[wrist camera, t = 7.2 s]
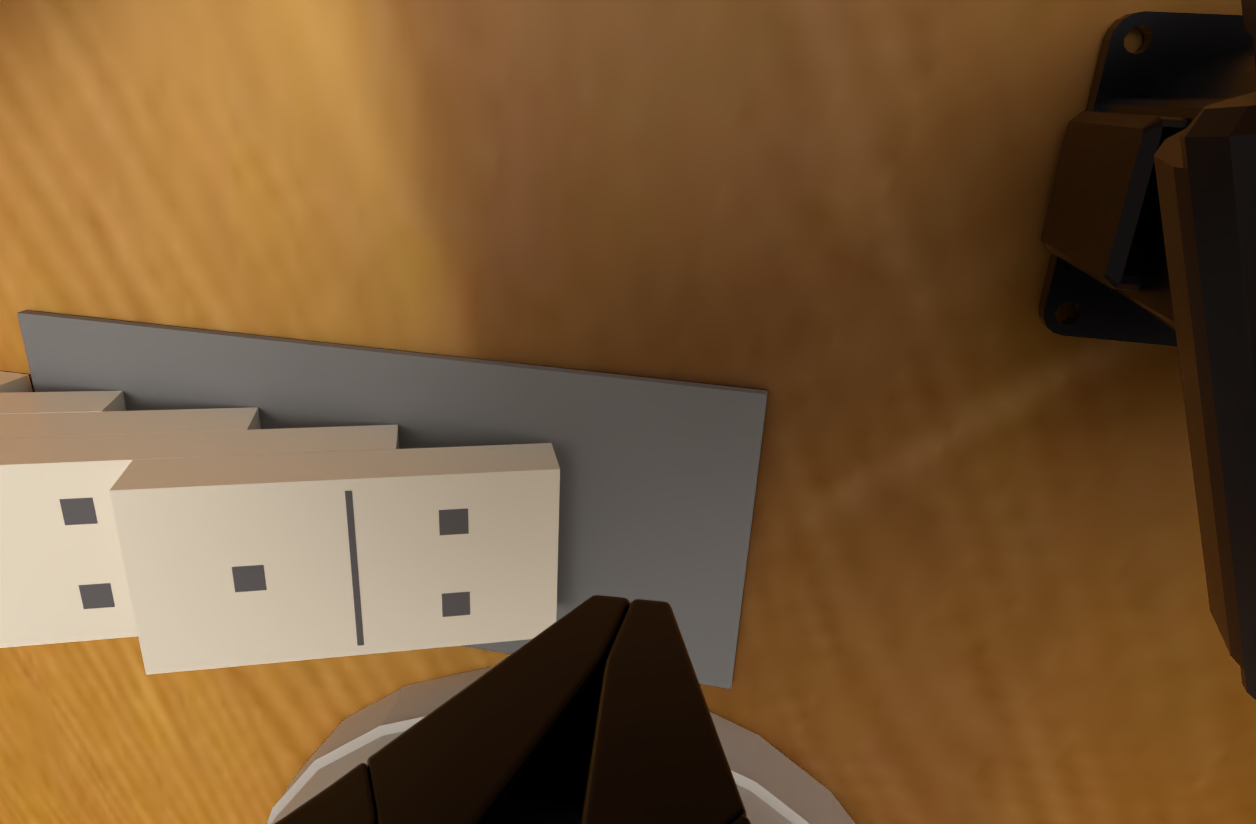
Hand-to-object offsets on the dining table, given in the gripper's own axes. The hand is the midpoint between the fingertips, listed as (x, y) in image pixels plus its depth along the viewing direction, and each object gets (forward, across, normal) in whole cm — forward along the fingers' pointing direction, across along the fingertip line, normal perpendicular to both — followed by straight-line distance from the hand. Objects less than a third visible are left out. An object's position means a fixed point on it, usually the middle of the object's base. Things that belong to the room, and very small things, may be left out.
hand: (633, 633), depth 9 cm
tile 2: (+11, +8, +5) cm, 15 cm away
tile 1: (+11, +4, +6) cm, 13 cm away
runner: (+12, +10, +5) cm, 17 cm away
